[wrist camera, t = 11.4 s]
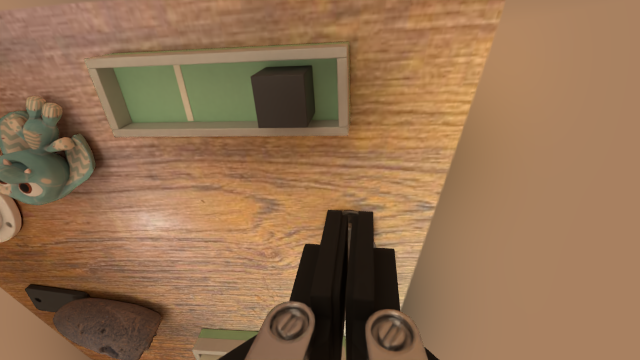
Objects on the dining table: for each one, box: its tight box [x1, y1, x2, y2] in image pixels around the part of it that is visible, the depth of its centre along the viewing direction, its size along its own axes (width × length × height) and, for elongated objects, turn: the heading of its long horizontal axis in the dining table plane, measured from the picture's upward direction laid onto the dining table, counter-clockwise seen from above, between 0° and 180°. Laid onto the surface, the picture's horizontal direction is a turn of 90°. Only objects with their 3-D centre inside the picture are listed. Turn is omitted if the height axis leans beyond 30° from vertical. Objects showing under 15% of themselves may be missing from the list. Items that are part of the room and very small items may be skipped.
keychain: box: [25, 285, 90, 312], centre depth 49 cm, size 5×1×10 cm
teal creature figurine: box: [0, 96, 96, 205], centre depth 32 cm, size 11×7×12 cm
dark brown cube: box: [250, 65, 315, 128], centre depth 25 cm, size 4×4×4 cm
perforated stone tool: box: [53, 298, 161, 360], centre depth 45 cm, size 15×5×7 cm, turn 76°
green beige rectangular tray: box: [84, 42, 350, 137], centre depth 28 cm, size 22×7×4 cm, turn 93°
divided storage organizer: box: [192, 329, 346, 360], centre depth 47 cm, size 22×7×4 cm, turn 96°
